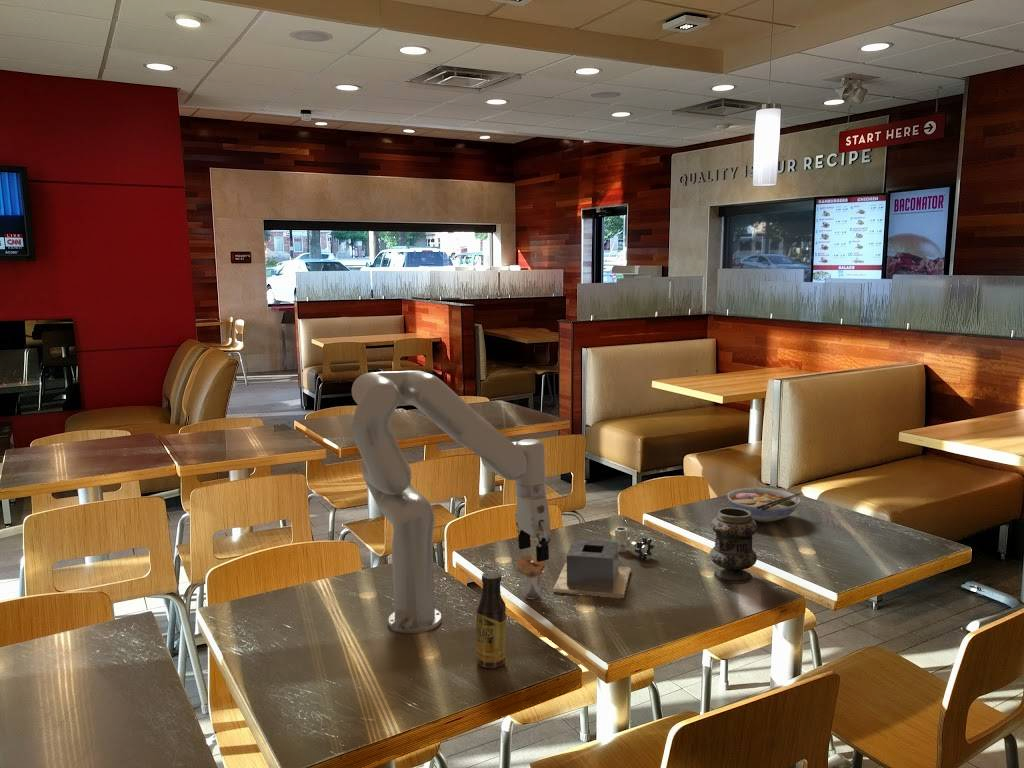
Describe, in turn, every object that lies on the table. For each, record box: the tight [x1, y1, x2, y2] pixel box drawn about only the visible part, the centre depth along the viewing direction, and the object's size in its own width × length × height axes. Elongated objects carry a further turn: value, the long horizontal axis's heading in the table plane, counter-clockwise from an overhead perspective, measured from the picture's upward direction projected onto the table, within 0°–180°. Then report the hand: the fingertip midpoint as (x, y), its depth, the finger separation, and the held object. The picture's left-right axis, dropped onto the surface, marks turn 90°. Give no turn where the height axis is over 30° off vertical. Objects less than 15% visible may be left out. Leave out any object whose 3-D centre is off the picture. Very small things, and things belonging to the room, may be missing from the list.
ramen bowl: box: [727, 487, 803, 523], centre depth 255 cm, size 25×23×8 cm
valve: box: [613, 526, 655, 561], centre depth 227 cm, size 7×7×12 cm
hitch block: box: [552, 539, 631, 599], centre depth 207 cm, size 18×18×9 cm
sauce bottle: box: [475, 570, 507, 670], centre depth 164 cm, size 7×6×20 cm
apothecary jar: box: [709, 507, 758, 584], centre depth 208 cm, size 12×12×18 cm
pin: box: [517, 554, 546, 599], centre depth 199 cm, size 7×7×10 cm
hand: (533, 554), depth 198 cm, fingers open, 9 cm apart
